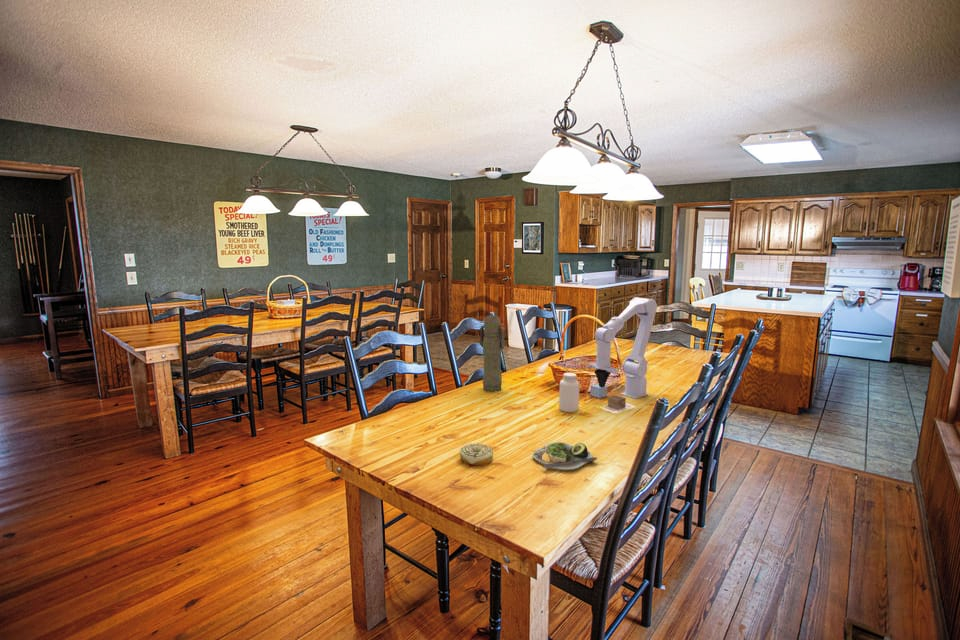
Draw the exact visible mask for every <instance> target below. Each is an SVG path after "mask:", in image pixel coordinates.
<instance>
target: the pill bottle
mask: <svg viewBox="0 0 960 640" xmlns="http://www.w3.org/2000/svg"><path fill="white" fill-rule="evenodd" d="M562 375H563V377H562V379H561V380H560V382H559V392H558V394H559V396H558V398H559V399H558V409H559V410H560V411H562V412H566V413H575V412H577V411H579V405H580V404H579V402H580V399H579V397H580V382H579V381H578V380H577V374H576V373H574V372H564V373H563V374H562Z"/></svg>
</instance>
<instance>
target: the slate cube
mask: <svg viewBox="0 0 960 640" xmlns="http://www.w3.org/2000/svg"><path fill="white" fill-rule="evenodd" d="M607 390H608V386H607V385H605V387H599V383H596V385H595V384H590V395H592V396H591V397H593V396H594V397H593V398H596V397H597V398H596V399H601V398H602V397H603V398H606V397H607V395H608V392H607ZM590 395H589V396H590Z"/></svg>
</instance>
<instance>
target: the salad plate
mask: <svg viewBox="0 0 960 640" xmlns="http://www.w3.org/2000/svg"><path fill="white" fill-rule="evenodd" d="M545 452H547V453H548V458H549V460H544V459H542V455H543V454H544V453H545ZM545 454H546V453H545ZM545 454H544V455H545ZM544 455H543V456H544ZM532 457H533V459H534V460H535V461H536V462H539V463H538V464H540V465H542V468H543V469H550V470H551V469H552V470H555V469H556V470H557V471H558V470H559V471H575V470H577V469H579V468H581V467H584V466H585V465H587V464H590V463H591V462H594V461H596V460H598V457H593V454H592V453H591V452H590V451H588V448H587V446H586V444H585V443H583V442H578V443H575V444H574V445H572V444H570V443H568V442H567V443H566V442H563V441H562V442H559V441H557V442H554V441H553V442H550V443H548V444H546V445H544V446H542V447H540V448H538V449H536V450H535V451H532ZM548 461H549V462H548ZM583 465H584V466H583Z"/></svg>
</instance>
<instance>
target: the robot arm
mask: <svg viewBox="0 0 960 640" xmlns="http://www.w3.org/2000/svg"><path fill="white" fill-rule="evenodd" d="M628 303H629V304H628V305H627V307H626V308H625V309H624V310H623V311H622V312H621V313H619V315H618V316H612V317H611V318H610V319H609V320H608V322H606V323H605V324H604V325H603V326H602V327H598V328H597V329H596V330H595V332H594V333H593V336H594V337H593V338H594V340H595V343H596V353H595V354H596V358H595V360H596V361H595V362H588V366H587V367H588V368H592V369H594V374H595V376H596V379H597V384H599V387H605V386H606V383H607V381H608V378H609V376H610V375H611V374H613V375H618V374H619V369H618V368H615V367H613V366H611V351H612V350H611V349H612V348H611V347H612V346H611V345H612V342H613V341H614V340H615V337H616V336H617V333H619V331H620V330H621V329H623V328H624V327H625V322H626V321H628V320H629V319H630V318H632V317H633V316H634V315H637V316H638V318H639V319H640V320H639V324H638V328H637V332H636V335H635V340H634V343H633V346H632V350H631V353H630V354H628V355H626V356H625V359H624V361H623V362H622V365H621V369H622V372H624V375H625V382H624V383H625V384H624V391H623V392H620V395H622V396H626V397H629V398H631V399H638V398H641V397H644V396H648V395H649V394H648V393H647V387H648V386H647V384H648V383H647V382H648V380H647V378H646V374H647V372H648V363H649V362H648V360H647V359H646V358H645V354H646V350H647V347H648V342H649V338H650V335H651V332H652V328H653V324H654V321H655V316H656V313H657V309H658V304H657V302H656V300H655V299H654V298H644V297H638V296H635V297H633V298H632V299H631V300H630V301H629V302H628Z"/></svg>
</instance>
